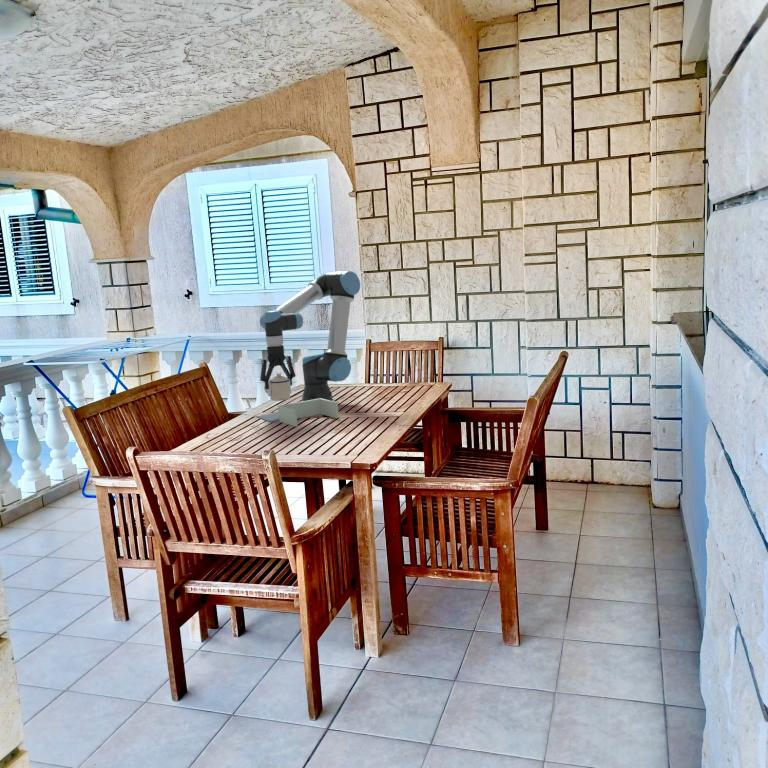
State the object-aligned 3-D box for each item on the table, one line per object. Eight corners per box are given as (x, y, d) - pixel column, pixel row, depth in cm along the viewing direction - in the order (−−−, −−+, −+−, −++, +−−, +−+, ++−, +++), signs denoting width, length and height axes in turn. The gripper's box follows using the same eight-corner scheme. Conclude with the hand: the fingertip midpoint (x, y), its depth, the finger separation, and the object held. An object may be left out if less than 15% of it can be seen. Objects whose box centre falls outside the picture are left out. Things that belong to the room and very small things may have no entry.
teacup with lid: (293, 397, 338) (291, 372, 336) (286, 400, 329) (284, 375, 327) (269, 397, 340) (267, 372, 339) (261, 401, 332) (259, 375, 330)
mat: (291, 410, 349) (291, 409, 349) (308, 415, 334) (308, 414, 334) (255, 417, 339) (255, 416, 339) (272, 422, 324) (272, 421, 324)
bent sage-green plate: (321, 413, 337) (320, 398, 336) (338, 417, 324) (337, 402, 323) (279, 421, 326) (277, 405, 325) (295, 426, 313) (293, 410, 312)
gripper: (293, 342, 340) (297, 390, 344) (249, 347, 329) (253, 397, 332) (300, 343, 334) (304, 392, 337) (255, 348, 322) (260, 399, 326)
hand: (279, 394), depth 335 cm, fingers closed on teacup with lid, 9 cm apart
